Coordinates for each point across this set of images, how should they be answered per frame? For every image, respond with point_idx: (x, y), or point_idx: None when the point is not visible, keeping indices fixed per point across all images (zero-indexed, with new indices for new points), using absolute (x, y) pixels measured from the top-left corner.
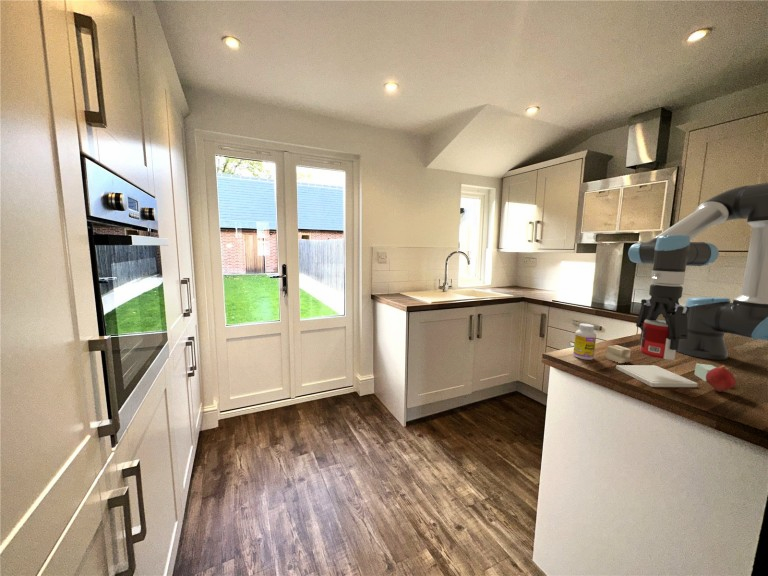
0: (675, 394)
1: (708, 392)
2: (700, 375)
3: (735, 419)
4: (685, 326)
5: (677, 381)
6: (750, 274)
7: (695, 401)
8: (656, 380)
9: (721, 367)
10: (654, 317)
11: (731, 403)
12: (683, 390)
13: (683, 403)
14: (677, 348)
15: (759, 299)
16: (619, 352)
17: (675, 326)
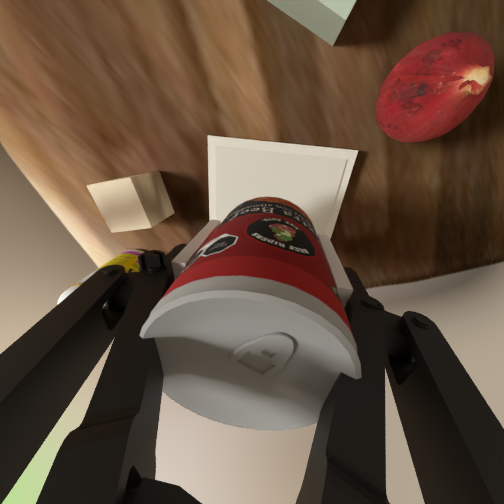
0: (361, 257)
1: (389, 155)
2: (303, 18)
3: (486, 255)
4: (483, 430)
5: (331, 207)
6: None
7: (401, 250)
8: None
9: (468, 91)
10: (153, 386)
11: (456, 169)
12: (353, 216)
13: (394, 282)
14: (356, 276)
15: None
16: (154, 225)
17: (404, 431)
